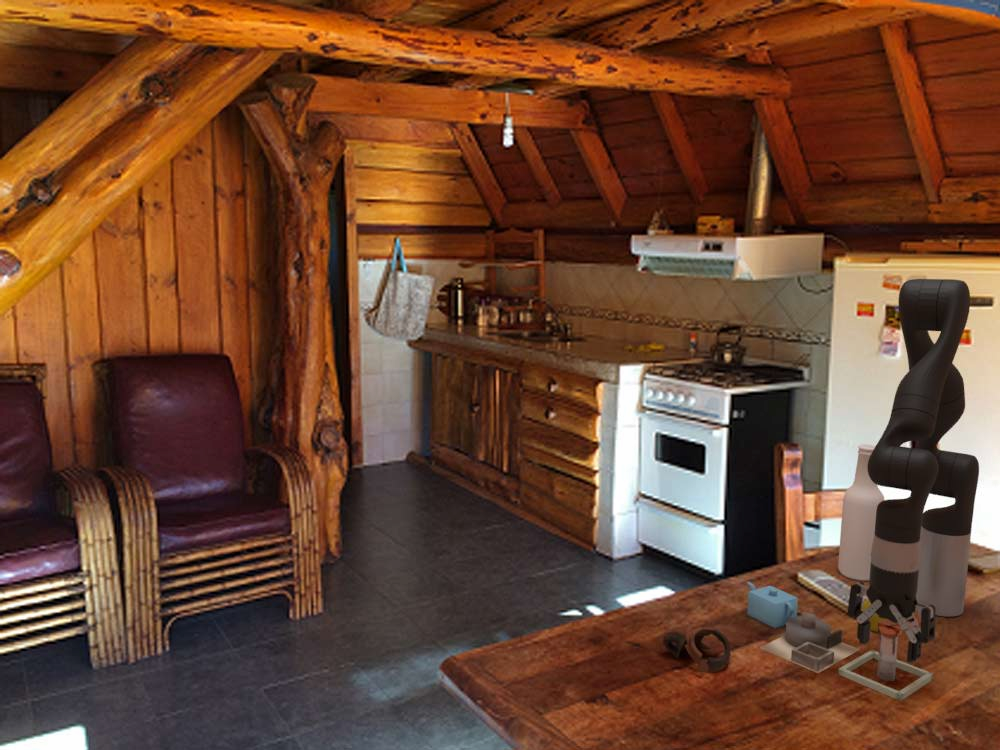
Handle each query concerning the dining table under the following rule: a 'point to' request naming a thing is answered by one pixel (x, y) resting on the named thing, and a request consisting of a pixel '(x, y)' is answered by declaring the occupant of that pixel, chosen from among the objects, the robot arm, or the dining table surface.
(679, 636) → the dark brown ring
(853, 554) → the alcohol
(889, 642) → the pin
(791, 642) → the pulley board
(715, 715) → the dining table surface
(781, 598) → the teapot
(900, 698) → the tray
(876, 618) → the lemon
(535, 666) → the dining table surface
